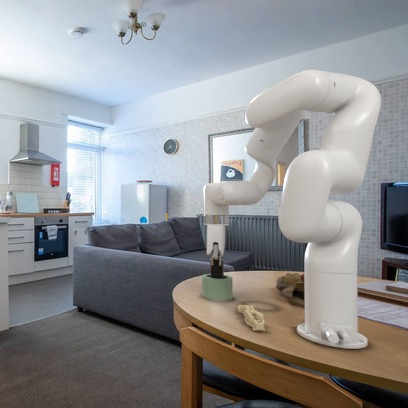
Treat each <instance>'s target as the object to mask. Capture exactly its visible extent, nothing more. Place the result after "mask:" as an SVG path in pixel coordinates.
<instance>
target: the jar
mask: <svg viewBox="0 0 408 408" xmlns="http://www.w3.org/2000/svg"><path fill="white" fill-rule="evenodd" d="M233 292H234V291H233V277H232V276H230V275H227V274H224V279H215V278H210V273H204V274H202V275H201V295H202V296H203V297H204V298H206V299H210V300H216V301H230V300H232V299H233V297H234V296H233V294H234V293H233Z"/></svg>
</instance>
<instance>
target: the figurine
mask: <svg viewBox="0 0 408 408" xmlns="http://www.w3.org/2000/svg"><path fill="white" fill-rule="evenodd" d="M275 288H276V290H278V291H279V292H280V293H281V295H282V296H284V297H285V298H286V299H288V300H290V301H291V302H292V303H295V304H296V305H299V306H301V307H303V308H305V285H304V273H302V274H300V273H298V272H296V273H295V272H294V273H292V272H291V273H289V272H287V273H286V274H285V275H282V276H280V277H278V278H277V279H276V285H275Z"/></svg>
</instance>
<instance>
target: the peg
mask: <svg viewBox="0 0 408 408" xmlns="http://www.w3.org/2000/svg"><path fill="white" fill-rule="evenodd" d="M209 263H210V265H209V267H210V268H209V270H210V272H209V274H210V278H212V277H211V265H212V258H210V259H209ZM224 263H225V261H224V259H223V258H222V259H221V266H222V278H215V279H224V275H225V271H224V270H225V269H224V267H225V265H224Z"/></svg>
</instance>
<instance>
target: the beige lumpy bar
mask: <svg viewBox="0 0 408 408" xmlns="http://www.w3.org/2000/svg"><path fill="white" fill-rule="evenodd" d="M237 312H238V313H241V314H243V317H244V322H245V324H246V325H247V326H248V327H251V328H252V331H254V332H258V331H261V332H265V331H266V328H265V324H266V320H265V319H264V317H265V316H264V314H263V313H262V312H260V311H258V310H257V309H255V308H254V305H248V304H238V306H237Z"/></svg>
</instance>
